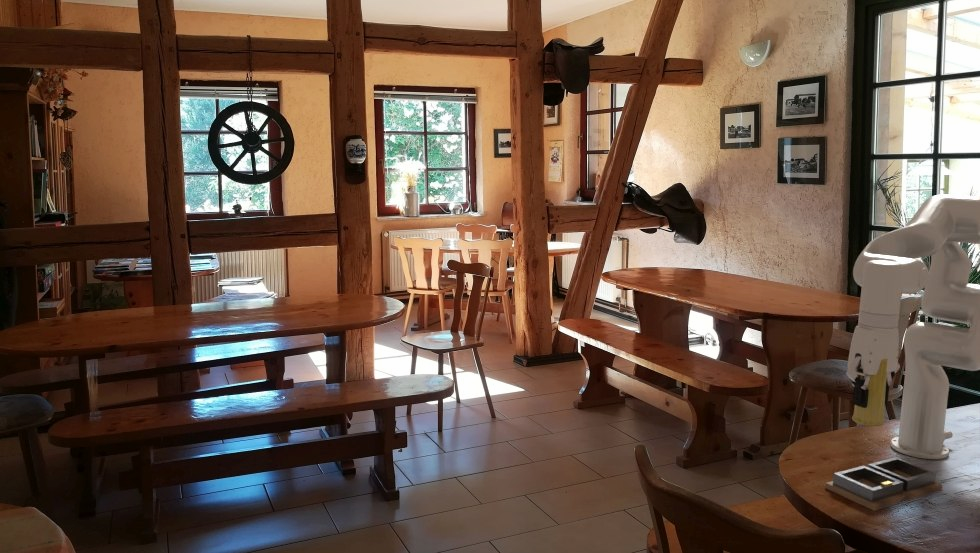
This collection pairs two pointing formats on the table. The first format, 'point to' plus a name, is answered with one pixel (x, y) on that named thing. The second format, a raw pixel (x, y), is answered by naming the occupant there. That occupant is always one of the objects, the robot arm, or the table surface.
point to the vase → (873, 399)
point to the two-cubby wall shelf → (884, 479)
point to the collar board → (887, 501)
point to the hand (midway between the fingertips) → (870, 403)
